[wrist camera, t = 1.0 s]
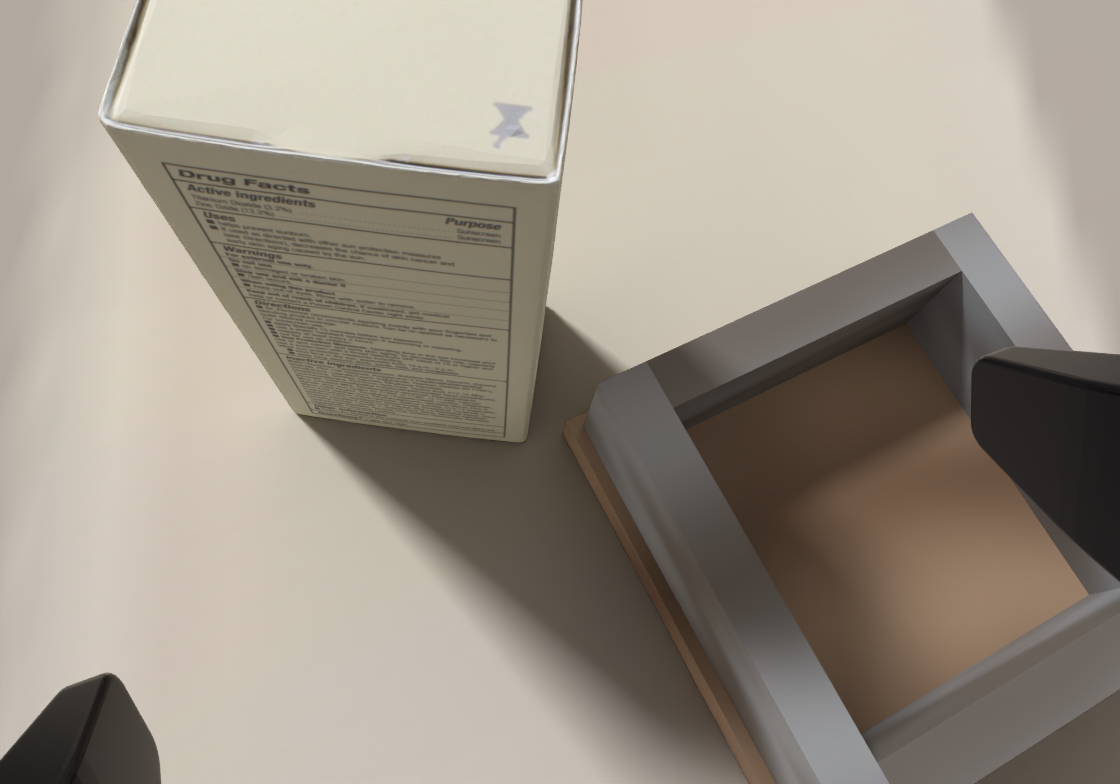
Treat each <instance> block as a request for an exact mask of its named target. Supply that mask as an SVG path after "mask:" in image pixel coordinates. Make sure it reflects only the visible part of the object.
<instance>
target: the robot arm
mask: <svg viewBox="0 0 1120 784" xmlns="http://www.w3.org/2000/svg"><path fill="white" fill-rule="evenodd" d="M971 428H972V433H973V435H974V437H975V439H976V441H977V443H978V444H979V446H980V447H981V448H982V449H983V450H984V451H985V452H986V453H987V454H988V455H989V456H990V457H991V458H992V459H993V460H994V461H995V462H996V464H997V465H998V466H999V467H1000V468H1001V469H1002V470H1003V471H1004V472H1005V473H1006V474H1007V475H1008V476H1009V477H1010V478H1011V479H1012V480H1013V481H1014V482H1015V483H1016V484H1017V485H1018V486H1019V487H1020V488H1021V489H1022V490H1023V491H1024V492H1025V493H1026V494H1027V495H1028V496H1029V498H1030V499H1031V500H1032V501H1033V502H1034V503H1035V504H1036V505H1037V506H1038V507H1039V508H1040V509H1041V510H1042V511H1043V512H1044V513H1045V514H1046V515H1047V516H1048V517H1049V518H1050V519H1051V520H1052V521H1053V522H1054V523H1055V524H1056V525H1057V526H1058V527H1059V528H1060V529H1061V530H1062V531H1063V532H1064V533H1065V534H1066V535H1067V536H1068V537H1069V538H1070V539H1071V540H1072V541H1073V542H1074V543H1075V544H1076V545H1077V546H1078V547H1079V548H1081V549H1082V550H1083V551H1084V552H1085V553H1086V554H1087V555H1088V556H1090V557H1091V558H1092V559H1093V560H1094V561H1095V562H1097V563H1098V564H1099V565H1100V566H1101V567H1102V568H1104V569H1105V570H1106V571H1107V572H1108V573H1109V574H1111V575H1112V576H1113V577H1114V578H1115V579H1117V580H1118V581H1119V582H1120V355H1119V354H1107V353H1094V352H1081V351H1068V350H1056V349H1043V348H1030V347H1017V346H1012V347H1007V348H1003V349H1001V350H998V351H995V352H993V353H990V354H987V355H984V356H982V357H980V358H979V359H978V360H977V361H976V362H975V363H974V365H973V368H972V373H971ZM0 784H161V774H160V762H159V756H158V751H157V747H156V744H155V741H154V739H153V736H152V734H151V732H150V731H149V729H148V727H147V725H146V724H145V722H144V720H143V718H142V716H141V715H140V713H139V711H138V709H137V707H136V706H135V704H134V702H133V700H132V699H131V697H130V695H129V693H128V691H127V690H126V688H125V686H124V684H123V683H122V681H121V680H120V679H119V678H118V677H117V676H116V675H114V674H111V673H103V674H100V675H97V676H95V677H92V678H89V679H86V680H84V681H81V682H78V683H75V684H72V685H70V686H67V687H65V688H64V689H62V690H61V691H60V692H59V693H58V694H57V695H56V696H55V697H54V699H53V700H52V701H51V702H50V703H49V704H48V705H47V707H46V708H45V709H44V710H43V711H42V712H41V714H40V715H39V716H38V717H37V718H36V719H35V721H34V722H33V723H32V724H31V725H30V726H29V727H28V729H27V730H26V731H25V732H24V733H23V734H22V736H21V737H20V738H19V739H18V740H17V741H16V743H15V744H14V745H13V746H12V747H11V748H10V749H9V751H8V752H7V753H6V754H5V755H4V756H3V758H2V759H1V760H0Z"/></svg>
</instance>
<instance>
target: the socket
mask: <svg viewBox="0 0 1120 784" xmlns="http://www.w3.org/2000/svg"><path fill="white" fill-rule="evenodd" d="M1012 346H1017V347H1030V348H1043V349H1056V350H1068V351H1073V350H1072V349H1071V347H1070V346H1069V345H1068V343H1067V342H1066V340H1065V339H1064V338H1063V336H1062V335H1061V334H1060V332H1059V331H1058V329H1057V328H1056V327H1055V325H1054V324H1053V323H1052V321H1051V320H1050V319H1049V317H1048V316H1047V314H1046V313H1045V312H1044V310H1043V309H1042V308H1041V306H1040V305H1039V303H1038V302H1037V301H1036V299H1035V298H1034V297H1033V295H1032V294H1031V293H1030V291H1029V290H1028V288H1027V287H1026V286H1025V284H1024V283H1023V282H1022V280H1021V279H1020V277H1019V276H1018V275H1017V273H1016V272H1015V271H1014V269H1013V268H1012V266H1011V265H1010V264H1009V262H1008V261H1007V260H1006V258H1005V257H1004V256H1003V254H1002V253H1001V251H1000V250H999V249H998V247H997V246H996V245H995V243H994V242H993V240H992V239H991V238H990V236H989V235H988V234H987V232H986V231H985V230H984V228H983V227H982V225H981V224H980V223H979V221H978V220H977V219H976V217H975V216H974V214H973V213H970V214H968V215H966V216H963V217H961V218H959V219H957V220H955V221H952V222H950V223H948V224H946V225H944V226H942V227H939V228H937V229H935V230H933V231H931V232H928V233H926V234H924V235H922V236H920V237H917V238H915V239H913V240H911V241H909V242H907V243H904V244H902V245H900V246H898V247H896V248H893V249H891V250H889V251H887V252H885V253H882V254H880V255H878V256H876V257H874V258H872V259H869V260H867V261H865V262H863V263H861V264H858V265H856V266H854V267H852V268H850V269H847V270H845V271H843V272H841V273H839V274H837V275H834V276H832V277H830V278H828V279H826V280H823V281H821V282H819V283H817V284H815V285H812V286H810V287H808V288H806V289H804V290H801V291H799V292H797V293H795V294H793V295H791V296H788V297H786V298H784V299H782V300H780V301H777V302H775V303H773V304H771V305H769V306H766V307H764V308H762V309H760V310H758V311H756V312H753V313H751V314H749V315H747V316H745V317H742V318H740V319H738V320H736V321H734V322H731V323H729V324H727V325H725V326H723V327H721V328H718V329H716V330H714V331H712V332H710V333H707V334H705V335H703V336H701V337H699V338H696V339H694V340H692V341H690V342H688V343H686V344H683V345H681V346H679V347H677V348H675V349H672V350H670V351H668V352H666V353H664V354H661V355H659V356H657V357H655V358H653V359H650V360H648V361H646V362H644V363H642V364H640V365H637V366H635V367H633V368H631V369H629V370H626V371H624V372H622V373H620V374H618V375H615V376H613V377H611V378H609V379H607V380H605V381H602V382H600V383H598V386H597V389H596V391H595V394H594V397H593V400H592V402H591V405H590V408H589V411H587V412H585V413H582V414H580V415H578V416H576V417H574V418H572V419H569V420H567V421H566V424H565V427H564V431H563V435H564V437H565V438H566V440H567V442H568V444H569V446H570V448H571V450H572V452H573V453H574V455H575V457H576V459H577V461H578V463H579V465H580V467H581V468H582V470H583V472H584V474H585V476H586V478H587V480H588V482H589V484H590V485H591V487H592V489H593V491H594V493H595V495H596V497H597V499H598V500H599V502H600V504H601V506H602V508H603V510H604V512H605V514H606V515H607V517H608V519H609V521H610V523H611V525H612V527H613V529H614V531H615V532H616V534H617V536H618V538H619V540H620V542H621V544H622V546H623V547H624V549H625V551H626V553H627V555H628V557H629V559H630V561H631V562H632V564H633V566H634V568H635V570H636V572H637V574H638V576H639V578H640V579H641V581H642V583H643V585H644V587H645V589H646V591H647V593H648V594H649V596H650V598H651V600H652V602H653V604H654V606H655V608H656V609H657V611H658V613H659V615H660V617H661V619H662V621H663V623H664V624H665V626H666V628H667V630H668V632H669V634H670V636H671V638H672V640H673V641H674V643H675V645H676V647H677V649H678V651H679V653H680V655H681V656H682V658H683V660H684V662H685V664H686V666H687V668H688V670H689V671H690V673H691V675H692V677H693V679H694V681H695V683H696V685H697V687H698V688H699V690H700V692H701V694H702V696H703V698H704V700H705V702H706V703H707V705H708V707H709V709H710V711H711V713H712V715H713V717H714V718H715V720H716V722H717V724H718V726H719V728H720V730H721V732H722V734H723V735H724V737H725V739H726V741H727V743H728V745H729V747H730V749H731V750H732V752H733V754H734V756H735V758H736V760H737V762H738V764H739V765H740V767H741V769H742V771H743V773H744V775H745V777H746V779H747V780H748V782H749V784H974V783H976V782H977V781H979V780H981V779H982V778H984V777H985V776H987V775H988V774H990V773H991V772H993V771H994V770H996V769H997V768H999V767H1001V766H1002V765H1004V764H1005V763H1007V762H1008V761H1010V760H1011V759H1013V758H1014V757H1016V756H1018V755H1019V754H1021V753H1022V752H1024V751H1025V750H1027V749H1028V748H1030V747H1031V746H1033V745H1035V744H1036V743H1038V742H1039V741H1041V740H1042V739H1044V738H1045V737H1047V736H1048V735H1050V734H1052V733H1053V732H1055V731H1056V730H1058V729H1059V728H1061V727H1062V726H1064V725H1065V724H1067V723H1068V722H1070V721H1072V720H1073V719H1075V718H1076V717H1078V716H1079V715H1081V714H1082V713H1084V712H1085V711H1087V710H1089V709H1090V708H1092V707H1093V706H1095V705H1096V704H1098V703H1099V702H1101V701H1102V700H1104V699H1106V698H1107V697H1109V696H1110V695H1112V694H1113V693H1115V692H1116V691H1118V690H1119V689H1120V582H1119V581H1118V580H1117V579H1115V578H1114V577H1113V576H1112V575H1111V574H1109V573H1108V572H1107V571H1106V570H1105V569H1104V568H1102V567H1101V566H1100V565H1099V564H1098V563H1097V562H1095V561H1094V560H1093V559H1092V558H1091V557H1090V556H1088V555H1087V554H1086V553H1085V552H1084V551H1083V550H1082V549H1081V548H1079V547H1078V546H1077V545H1076V544H1075V543H1074V542H1073V541H1072V540H1071V539H1070V538H1069V537H1068V536H1067V535H1066V534H1065V533H1064V532H1063V531H1062V530H1061V529H1060V528H1059V527H1058V526H1057V525H1056V524H1055V523H1054V522H1053V521H1052V520H1051V519H1050V518H1049V517H1048V516H1047V515H1046V514H1045V513H1044V512H1043V511H1042V510H1041V509H1040V508H1039V507H1038V506H1037V505H1036V504H1035V503H1034V502H1033V501H1032V500H1031V499H1030V498H1029V496H1028V495H1027V494H1026V493H1025V492H1024V491H1023V490H1022V489H1021V488H1020V487H1019V486H1018V485H1017V484H1016V483H1015V482H1014V481H1013V480H1012V479H1011V478H1010V477H1009V476H1008V475H1007V474H1006V473H1005V472H1004V471H1003V470H1002V469H1001V468H1000V467H999V466H998V465H997V464H996V462H995V461H994V460H993V459H992V458H991V457H990V456H989V455H988V454H987V453H986V452H985V451H984V450H983V449H982V448H981V447H980V446H979V444H978V443H977V441H976V439H975V437H974V435H973V433H972V428H971V373H972V368H973V365H974V363H975V362H976V361H977V360H978V359H979V358H980V357H982V356H984V355H987V354H990V353H993V352H995V351H998V350H1001V349H1003V348H1007V347H1012Z"/></svg>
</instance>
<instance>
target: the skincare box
mask: <svg viewBox="0 0 1120 784" xmlns="http://www.w3.org/2000/svg"><path fill="white" fill-rule="evenodd" d="M581 13H582V0H137V2H136V5H135V7H134V10H133V12H132V15H131V18H130V20H129V23H128V26H127V28H126V31H125V34H124V37H123V40H122V43H121V46H120V49H119V52H118V55H117V58H116V62H115V65H114V68H113V70H112V73H111V75H110V78H109V81H108V83H107V86H106V89H105V92H104V95H103V99H102V102H101V105H100V108H99V112H98V117H99V120H100V122H101V123H102V125H103V126H104V128H105V129H106V131H107V132H108V134H109V135H110V137H111V138H112V140H113V141H114V142H115V144H116V145H117V147H118V148H119V150H120V151H121V153H122V154H123V156H124V157H125V159H126V160H127V162H128V163H129V165H130V166H131V168H132V169H133V171H134V172H135V174H136V175H137V177H138V178H139V180H140V181H141V183H142V185H143V186H144V188H145V189H146V191H147V192H148V193H149V195H150V196H151V198H152V199H153V201H154V202H155V204H156V205H157V207H158V208H159V210H160V211H161V213H162V214H163V216H164V217H165V219H166V220H167V222H168V223H169V225H170V226H171V228H172V229H173V231H174V232H175V234H176V235H177V237H178V238H179V240H180V241H181V243H182V244H183V246H184V247H185V249H186V250H187V252H188V253H189V255H190V256H191V258H192V260H193V261H194V263H195V264H196V266H197V267H198V269H199V271H200V272H201V274H202V275H203V276H204V278H205V279H206V281H207V282H208V284H209V285H210V287H211V288H212V290H213V291H214V293H215V294H216V296H217V297H218V299H219V300H220V302H221V303H222V305H223V306H224V308H225V309H226V311H227V312H228V314H229V315H230V316H231V318H232V320H233V321H234V323H235V324H236V325H237V327H238V328H239V330H240V331H241V333H242V334H243V336H244V337H245V339H246V340H247V342H248V344H249V345H250V347H251V349H252V350H253V351H254V353H255V354H256V356H257V357H258V359H259V360H260V362H261V363H262V365H263V366H264V368H265V369H266V371H267V372H268V374H269V375H270V377H271V378H272V380H273V381H274V383H275V384H276V386H277V387H278V389H279V390H280V392H281V393H282V395H283V396H284V398H285V399H286V401H287V402H288V404H289V405H290V407H291V408H292V410H293V411H294V412H296V413H298V414H301V415H308V416H314V417H320V418H328V419H334V420H340V421H347V422H354V423H361V424H368V425H376V426H384V427H391V428H398V429H405V430H414V431H422V432H429V433H437V434H445V435H453V436H462V437H469V438H479V439H489V440H500V441H509V442H523V441H525V440H526V439H527V435H528V429H529V422H530V415H531V409H532V403H533V396H534V388H535V381H536V374H537V367H538V360H539V354H540V347H541V340H542V332H543V324H544V316H545V308H546V300H547V293H548V286H549V279H550V272H551V265H552V258H553V250H554V241H555V233H556V224H557V216H558V208H559V200H560V192H561V184H562V176H563V169H564V162H565V154H566V147H567V139H568V132H569V124H570V116H571V107H572V99H573V90H574V82H575V73H576V64H577V54H578V44H579V35H580V25H581Z"/></svg>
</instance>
